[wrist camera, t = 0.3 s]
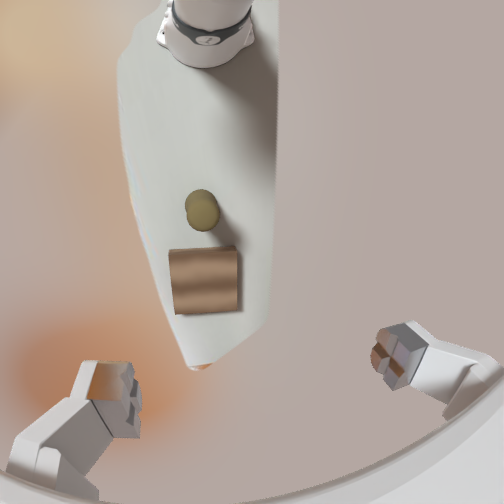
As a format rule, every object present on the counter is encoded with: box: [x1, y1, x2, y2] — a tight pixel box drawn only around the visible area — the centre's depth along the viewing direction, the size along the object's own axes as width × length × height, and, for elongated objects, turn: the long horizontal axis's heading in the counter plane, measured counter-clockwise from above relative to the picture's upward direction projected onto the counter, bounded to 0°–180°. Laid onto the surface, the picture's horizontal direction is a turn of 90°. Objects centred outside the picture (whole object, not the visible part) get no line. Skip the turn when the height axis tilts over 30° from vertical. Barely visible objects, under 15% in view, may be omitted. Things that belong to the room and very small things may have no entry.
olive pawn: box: [185, 189, 220, 232], centre depth 46 cm, size 6×6×11 cm
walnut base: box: [169, 246, 237, 315], centre depth 54 cm, size 13×13×3 cm
